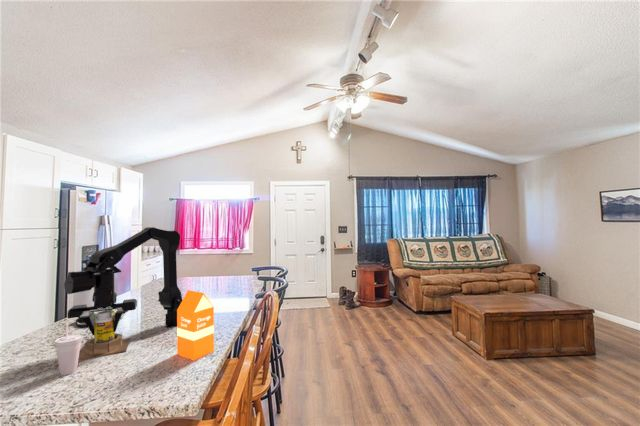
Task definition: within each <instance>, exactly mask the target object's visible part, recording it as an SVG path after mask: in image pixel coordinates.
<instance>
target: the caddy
mask: <svg viewBox="0 0 640 426" xmlns="http://www.w3.org/2000/svg"><path fill="white" fill-rule="evenodd" d="M131 339H132V338H131V337H129V338H123V333H116V332H114V340H112V341H109V342H105V343H99V344H95V343H94V337H92V338H89V339H87V340H86V341H85V343H84V344H83V346H81V347H80V352H79V359H78V361H82V360H87V359H92V358H93V359H94V358H98V357H105V356H111V355H116V354H120V353H121V354H122V353H127V349H128V347H129V344H130V341H131Z"/></svg>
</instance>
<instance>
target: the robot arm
mask: <svg viewBox="0 0 640 426" xmlns="http://www.w3.org/2000/svg"><path fill="white" fill-rule="evenodd" d="M151 239H152V240H155V241H158V245H159V248H160V249H161V252H162V258H163V263H162V264H163V266H162V267H163V288H162V290H161V291H158V300H157V301H158V302H159V304H160V306H162V307H163V309H164V311H165V310H166V313H165V315H164V316H165V317H164V318H165V326H166V328H175V327H177V309H178V308H179V306H180V304H181V302H182V300H183V296H182V291H181V290H180V287H179V286H178V279H177V278H178V271H177V267H178V266H177V251H178V248H179V246H180V244H181V243H180V242H181V234H180V233H179V232H178V231H177V230H166V229H160V228H156V227H154V226H152V227H150V226H149V227H144V228H143V229H142V230H141V231H138V232H137V233H135V234H133V235H132V236H130V237H128V238H126V239H125V240H123V241H121V242H119V243H118V244H116V245H112V246H110V247H105V248H103V249H100V250H97V251H94V253H93V254H92V255H91V258H90V260H89V262H88V263H87V264H86V266H85V267H84V268H83V269H82V270H80V271H69V272H67V276H66V277H65V281H64V282H63V283H64V284H63V286H64V287H63V288H64V291H65V292H66V293H65V294H67V295H72V294H77V293H82V292H87V291H91V290H93V294H92V302H93V305H92V306H88V304H86V303H85V304H77V305H73V306H72V307H71V308H69V310H68V311H67V319H75V318H76V319H77V318H78V317H79V319H83V321H84V322H85V323H86V324H87V326H88V327H87V328H88V330H89V332H90V333H91V335H92V336H94V314H95V313H98V312H102V311H105V310H113V311H114V310H116V313H115V320H114V333H116V331H117V329H118V326H119V323H120V320H121V319H122V318H121V316H122V315H124V314H126V313H127V312H126V311H128V312H129V311H134V310H136V308H137V306H138V300H137V299H136V298H130V299H124V300H123V301H122V302H118V303H117V293H116V291H115V274H119V273H121V272H122V270H121V269H119V268H118V267H117V266H116V265H117V264H118V263H119V262H121V261H122V259H123V258H124V257H125V256H126V255H127V254H129V252H131V251H133V250H135V249H137V248H139V247H140V246H142V245H143V244H145V243H146V242H148V241H150V240H151ZM120 318H121V319H120Z"/></svg>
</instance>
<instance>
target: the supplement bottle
mask: <svg viewBox="0 0 640 426" xmlns="http://www.w3.org/2000/svg"><path fill="white" fill-rule="evenodd" d="M96 314H97V319H95V321H94V335H93V336H94V337H93V338H94V343H95V344H99V343H105V342H109V341H112V340H114V333H115V332H114V317H113V316H111V311H98V312H96Z"/></svg>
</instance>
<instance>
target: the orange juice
mask: <svg viewBox="0 0 640 426" xmlns="http://www.w3.org/2000/svg"><path fill="white" fill-rule="evenodd" d="M214 307H215V306H213V304H212V303H211V302H210V299H208V297H207V295H206V294H205V293H204V292H199V291H196V290H195V291H194V290H189V289H188V290H187V291H186V293H185V295H184V297H182V302H181V304H180V306H179V308H178V309H177V326H176V335H177V336H176V337H177V339H176V343H177V344H176V349H177V351H176V352H177V355H179V356H181V357H184V358H187V359H190V360H192V361H195V360H197V359H198V360H199V359H201V358H202V357H203V356H206V355H208V354H211V353H213V352H215V339H214V337H215V324H214V319H215V318H214V317H215V315H214V313H215V311H214V309H215V308H214Z"/></svg>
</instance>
